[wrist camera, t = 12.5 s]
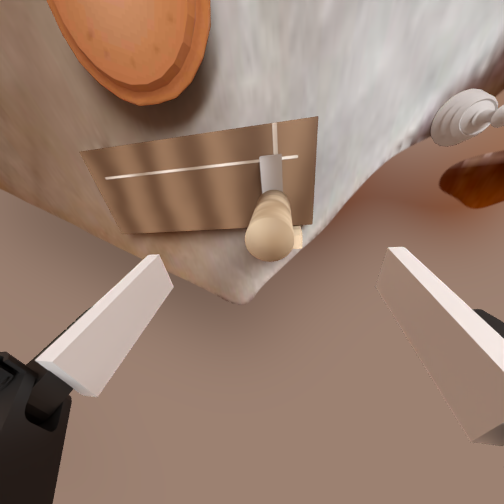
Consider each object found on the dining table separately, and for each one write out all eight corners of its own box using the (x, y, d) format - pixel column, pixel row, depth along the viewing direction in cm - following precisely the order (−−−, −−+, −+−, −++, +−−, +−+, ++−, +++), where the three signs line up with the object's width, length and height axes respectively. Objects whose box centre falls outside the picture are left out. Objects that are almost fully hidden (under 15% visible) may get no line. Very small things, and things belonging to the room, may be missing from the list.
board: (134, 226, 33) (121, 234, 30) (98, 150, 27) (78, 151, 24) (309, 216, 28) (312, 224, 25) (313, 118, 22) (318, 116, 19)
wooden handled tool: (254, 234, 30) (238, 293, 19) (245, 156, 24) (213, 173, 13) (299, 232, 29) (310, 294, 17) (300, 149, 23) (318, 161, 12)
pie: (45, -11, 19) (-21, -53, 15) (135, -212, 13) (68, -373, 9) (154, 137, 25) (129, 137, 21) (250, 43, 19) (241, 16, 15)
